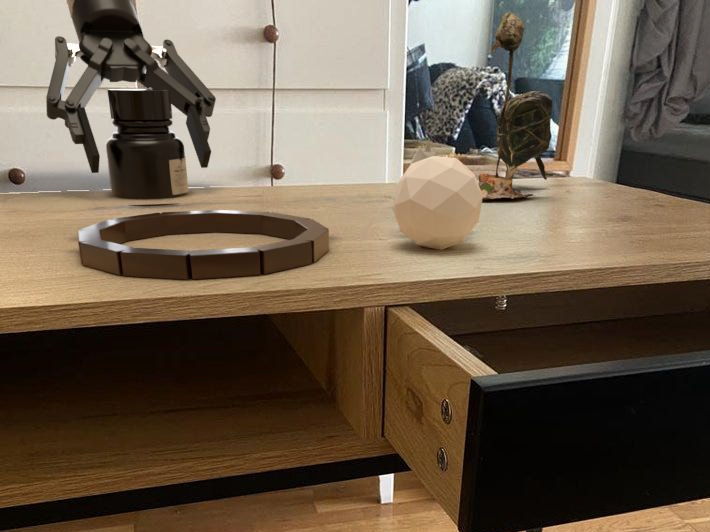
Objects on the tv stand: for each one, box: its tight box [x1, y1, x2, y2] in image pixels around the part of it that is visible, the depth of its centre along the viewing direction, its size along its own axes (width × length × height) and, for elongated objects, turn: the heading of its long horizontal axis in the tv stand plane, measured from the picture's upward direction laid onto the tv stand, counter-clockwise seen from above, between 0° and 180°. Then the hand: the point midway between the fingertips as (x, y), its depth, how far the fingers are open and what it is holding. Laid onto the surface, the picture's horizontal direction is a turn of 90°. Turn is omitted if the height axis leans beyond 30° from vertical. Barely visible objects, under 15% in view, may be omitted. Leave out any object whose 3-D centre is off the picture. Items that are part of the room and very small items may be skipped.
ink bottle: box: [105, 88, 189, 207], centre depth 88 cm, size 10×9×12 cm
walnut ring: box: [77, 209, 330, 281], centre depth 66 cm, size 21×21×2 cm
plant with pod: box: [478, 11, 555, 200], centre depth 92 cm, size 8×11×20 cm
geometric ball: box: [392, 155, 484, 251], centre depth 67 cm, size 8×8×8 cm
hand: (152, 162), depth 87 cm, fingers open, 12 cm apart
